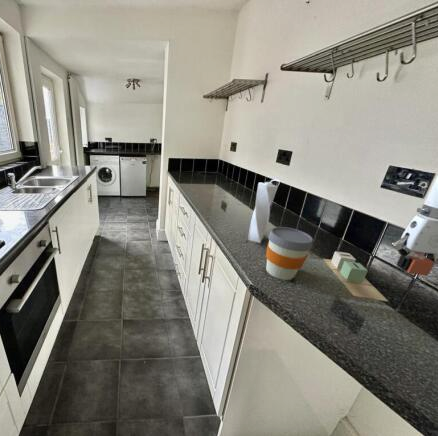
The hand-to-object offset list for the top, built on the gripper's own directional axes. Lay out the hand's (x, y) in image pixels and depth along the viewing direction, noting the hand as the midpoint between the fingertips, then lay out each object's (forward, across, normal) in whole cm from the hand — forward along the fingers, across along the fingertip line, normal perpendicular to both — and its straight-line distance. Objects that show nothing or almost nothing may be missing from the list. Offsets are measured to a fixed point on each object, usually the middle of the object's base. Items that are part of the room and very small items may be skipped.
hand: (412, 268), depth 70 cm
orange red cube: (0, 0, 0) cm, 0 cm away
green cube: (+8, -12, +4) cm, 15 cm away
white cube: (+8, -12, +11) cm, 18 cm away
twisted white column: (+8, -39, +26) cm, 47 cm away
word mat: (+9, -12, +4) cm, 15 cm away
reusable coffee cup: (+8, -35, +1) cm, 36 cm away
